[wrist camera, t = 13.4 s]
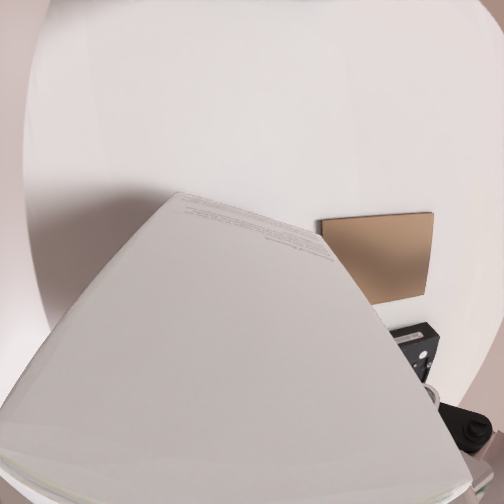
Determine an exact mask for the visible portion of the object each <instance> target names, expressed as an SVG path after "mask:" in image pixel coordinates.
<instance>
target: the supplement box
mask: <svg viewBox="0 0 504 504" xmlns="http://www.w3.org/2000/svg"><path fill="white" fill-rule="evenodd" d="M0 476H1V477H2V478H4V479H5V480H6V481H7V482H8V483H9V484H10V485H11V486H13V487H14V488H15V489H16V490H17V491H18V492H20V493H21V494H22V495H23V496H25V497H26V498H27V499H28V500H30V501H31V502H32V503H33V504H447V503H448V502H450V501H452V500H453V499H455V498H456V497H458V496H459V495H461V494H462V493H463V492H464V491H466V490H467V489H468V488H469V486H470V485H471V483H472V481H473V478H472V476H471V473H470V471H469V469H468V467H467V465H466V463H465V461H464V459H463V457H462V455H461V453H460V451H459V449H458V447H457V445H456V443H455V442H454V440H453V438H452V436H451V434H450V432H449V431H448V429H447V427H446V425H445V423H444V421H443V420H442V418H441V416H440V414H439V412H438V411H437V409H436V407H435V405H434V403H433V402H432V400H431V398H430V396H429V395H428V393H427V391H426V389H425V388H424V386H423V385H422V383H421V381H420V380H419V378H418V376H417V375H416V373H415V372H414V370H413V368H412V367H411V365H410V364H409V362H408V360H407V359H406V357H405V356H404V354H403V353H402V351H401V349H400V348H399V346H398V345H397V343H396V342H395V340H394V339H393V337H392V335H391V334H390V332H389V331H388V329H387V328H386V326H385V325H384V323H383V322H382V320H381V319H380V317H379V316H378V314H377V313H376V311H375V310H374V309H373V307H372V306H371V304H370V303H369V301H368V300H367V298H366V297H365V295H364V294H363V293H362V291H361V290H360V288H359V287H358V286H357V284H356V283H355V281H354V280H353V279H352V277H351V276H350V274H349V273H348V272H347V270H346V269H345V268H344V266H343V265H342V263H341V262H340V261H339V259H338V258H337V257H336V255H335V254H334V253H333V251H332V250H331V249H330V247H329V246H328V245H327V243H326V242H325V241H324V239H323V238H322V237H321V235H319V234H316V233H313V232H310V231H307V230H304V229H301V228H298V227H295V226H292V225H289V224H285V223H282V222H279V221H276V220H273V219H270V218H267V217H263V216H260V215H257V214H253V213H250V212H247V211H244V210H241V209H237V208H234V207H230V206H227V205H224V204H221V203H217V202H214V201H210V200H207V199H203V198H200V197H197V196H193V195H190V194H186V193H183V192H176V193H175V194H173V195H172V196H171V197H170V198H169V199H168V200H167V201H166V202H165V203H164V204H163V205H162V206H161V207H160V208H159V209H158V210H157V211H156V212H155V213H154V214H153V215H152V216H151V217H150V218H149V219H148V220H147V221H146V222H145V223H144V224H143V225H142V226H141V227H140V228H139V229H138V230H137V231H136V232H135V233H134V234H133V235H132V237H131V238H130V239H129V240H128V241H127V242H126V243H125V244H124V245H123V246H122V247H121V248H120V250H119V251H118V252H117V253H116V254H115V255H114V256H113V258H112V259H111V260H110V261H109V262H108V263H107V264H106V265H105V266H104V267H103V269H102V270H101V271H100V272H99V273H98V274H97V275H96V277H95V278H94V279H93V280H92V281H91V282H90V284H89V285H88V286H87V287H86V288H85V290H84V291H83V292H82V293H81V295H80V296H79V297H78V298H77V299H76V301H75V302H74V303H73V304H72V306H71V307H70V308H69V310H68V311H67V312H66V313H65V315H64V316H63V317H62V319H61V320H60V321H59V322H58V324H57V325H56V326H55V328H54V329H53V330H52V332H51V333H50V334H49V336H48V337H47V339H46V340H45V341H44V342H43V344H42V345H41V347H40V348H39V349H38V351H37V352H36V354H35V355H34V357H33V358H32V359H31V361H30V362H29V364H28V365H27V367H26V369H25V370H24V371H23V373H22V375H21V376H20V378H19V379H18V381H17V382H16V384H15V385H14V387H13V388H12V390H11V392H10V393H9V395H8V396H7V398H6V400H5V401H4V403H3V405H2V407H1V408H0Z"/></svg>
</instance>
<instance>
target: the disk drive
mask: <svg viewBox="0 0 504 504" xmlns="http://www.w3.org/2000/svg"><path fill="white" fill-rule="evenodd" d="M389 332H390V334H391V335H392V337H393V339H394V340H395V342H396V343H397V345H398V346H399V348H400V349H401V351H402V353H403V354H404V356H405V357H406V359H407V360H408V362H409V364H410V365H411V367H412V368H413V370H414V372H415V373H416V375H417V376H418V378H419V380H420V381H421V383H425V382H426V379H427V376H428V374H429V371H430V368H431V365H432V363H433V360H434V357H435V354H436V351H437V347H438V342H439V339H440V336H439V335H438V334H437V332H436V331H435V330H434V329H433V328H432V327H431V326H430V325H429V324H428V323H427V322H425V323H421V324H417V325H414V326H410V327H405V328H401V329H398V330H393V331H389Z"/></svg>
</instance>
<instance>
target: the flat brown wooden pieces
mask: <svg viewBox="0 0 504 504" xmlns="http://www.w3.org/2000/svg"><path fill="white" fill-rule="evenodd" d="M433 222H434V213H432V212H428V213H411V214H395V215H380V216H366V217H353V218H340V219H327V220H321V228H322V238H323V239H324V241H325V242H326V243H327V245H328V246H329V247H330V249H331V250H332V251H333V253H334V254H335V255H336V257H337V258H338V259H339V261H340V262H341V263H342V265H343V266H344V268H345V269H346V270H347V272H348V273H349V274H350V276H351V277H352V279H353V280H354V281H355V283H356V284H357V286H358V287H359V288H360V290H361V291H362V293H363V294H364V295H365V297H366V298H367V300H368V301H369V303H370V304H371V305H374V304H379V303H384V302H390V301H395V300H400V299H405V298H410V297H415V296H420V295H424V292H425V286H426V280H427V274H428V267H429V260H430V252H431V244H432V234H433Z"/></svg>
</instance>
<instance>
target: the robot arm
mask: <svg viewBox="0 0 504 504" xmlns="http://www.w3.org/2000/svg"><path fill="white" fill-rule="evenodd" d="M422 385H423V386H424V388H425V389H426V391H427V393H428V395H429V396H430V398H431V400H432V402H433V403H434V405H435V407H436V409H437V411H438V412H439V414H440V416H441V418H442V420H443V421H444V423H445V425H446V427H447V429H448V431H449V432H450V434H451V436H452V438H453V440H454V442H455V443H456V445H457V447H458V449H459V451H460V453H461V455H462V457H463V459H464V461H465V463H466V465H467V467H468V469H469V471H470V473H471V476H472V478H473V481H472V483H471V484H472V486H473V489H472V487H471V485H470V486H469V488H468V489H467V490H466V491H464V492H463V493H462V494H461V495H459V496H458V497H456V498H455V499H453V500H452V501H450V502H448V503H447V504H504V433H502V432H501V431H499V430H498V431H497V432H494V431H493V430H492V425H491V422H490V421H489V419H488V418H487V417H485V416H484V415H481V414H479V413H475V412H472V411H468V410H465V409H461V408H458V407H454V406H451V405H448V404H445V403H441V402H440V397H439V394H438V392H437V391H436V390H435V388H433V387H432V386H430V385H428V384H425V383H422ZM0 504H33V503H32V502H31V501H30V500H28V499H27V498H26V497H25V496H23V495H22V494H21V493H20V492H18V491H17V490H16V489H15V488H14V487H13V486H11V485H10V484H9V483H8V482H7V481H6V480H5V479H4V478H2V477H1V476H0Z"/></svg>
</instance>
